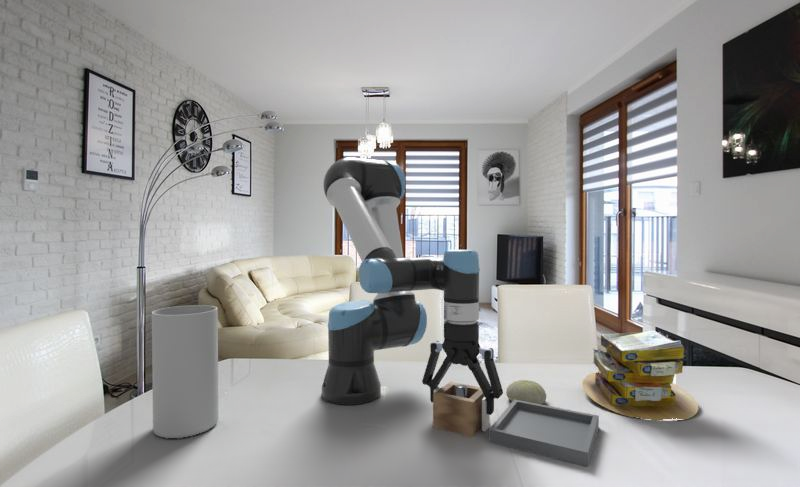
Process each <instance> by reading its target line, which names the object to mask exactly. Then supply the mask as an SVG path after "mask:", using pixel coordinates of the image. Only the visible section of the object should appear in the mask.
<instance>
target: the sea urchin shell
mask: <svg viewBox="0 0 800 487" xmlns="http://www.w3.org/2000/svg"><path fill="white" fill-rule="evenodd" d="M505 392H506V394H505V395H506V397H507V399H508V400H510V401H511V402H512V401H513V400H514V399H515V400H520V401H525V402H530V403H536V404H541V405H544V404H545V402H546V400H547V393H546V391H545V388H544V387H543V386H541V384H539V383H538V382H536V381H533V380H528V379H520V380H515V381H513V382H512V383H510V384H509V385H508V386H507V387H506V391H505Z"/></svg>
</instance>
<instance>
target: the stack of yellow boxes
mask: <svg viewBox="0 0 800 487" xmlns="http://www.w3.org/2000/svg"><path fill="white" fill-rule="evenodd" d="M600 346H602V347H603V348H605V351H602V350H600V351H599V350H597V349H595V348H592V349H593V364H594V366H596V367H597V369H598V371H594V372H591V373H590V374H588V375H586V376H585V377H584V378H583V380H582V384H581V385H582V389H583V390H584V393H585V394H586V396H587V397H589V398H590V399H591V400H592V401H594V402H595V403H597V404H598V405H600V406H602V407H604V408H605V409H607V410H609V411H613V412H614V413H617V414H620V415H623V416H625V417H629V418H633V417H638V418H642V419H651V420H663V419H672V418H673V419H676V418H677V419H683V420H682V421H685V419H686V420H688V419H691V418H692V417H694V416H695V415H696V414H698V411H699V404H698V401H697V400H696V399H695V397H694V396H693V395H692V394H691V393H690V392H689V391H687V390H685V389H684V388H683V387H681V386H679V385H678V384H675V383H674V377H675V376H676V375H678V374H683V367H684V361H683V360H681V359H684V358H685V357H684V353H685V347H684V345H683V344H682V342H681V340H673V339H671V338H669V337H667V336H665V335H664V334H662V333H661V332H660V333H659V332H657V331H656V330H655V329H654V330H647V331H641V332H639V331H638V332H628V331H626V332H623V333H622V332H621V333H616V332H615V333H606V334H605V333H602V334H601V335H600ZM642 419H641V420H642Z"/></svg>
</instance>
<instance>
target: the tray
mask: <svg viewBox="0 0 800 487" xmlns="http://www.w3.org/2000/svg"><path fill="white" fill-rule="evenodd" d="M599 416H600V415H597V414H592V413H587V412H582V411H578V410H577V411H576V410H571V409H565V408H562V407H561V408H560V407H555V406H549V405H545V404H542V405H541V404H536V403H530V402H525V401H520V400H515V399H514V400H513V401H511V402H510V403H509V405H508V406H507V407H506V408H505V410H504V411H503V412H502V413H501V414H500V416H499V417H498V418H497V419H496V420H495V421H494V422H493V423H492V425H491V426H490V427H489V428H488V442H489V443H492V444H496V445H500V446H504V447H507V448H512V449H515V450H519V451H520V450H521V451H524V452H528V453H530V454H531V453H532V454H535V455H540V456H545V457H547V458H552V459H556V460H560V461H564V462H568V463H571V464H575V465H579V466H584V467H589V463H590V460H591V456H592V452H593V450H594V445H595V442H596V438H597V434H598V430H599V428H600V427H599V423H600V422H599V419H600V418H599Z"/></svg>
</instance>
